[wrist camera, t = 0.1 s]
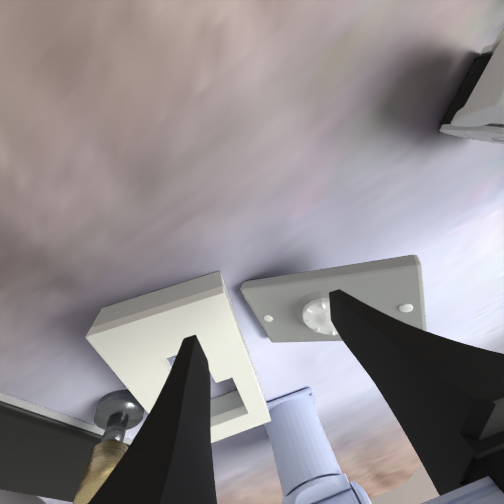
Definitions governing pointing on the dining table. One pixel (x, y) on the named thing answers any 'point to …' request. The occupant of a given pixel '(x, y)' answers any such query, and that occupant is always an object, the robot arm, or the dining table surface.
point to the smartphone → (43, 449)
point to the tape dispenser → (480, 99)
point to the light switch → (330, 279)
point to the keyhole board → (168, 344)
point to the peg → (109, 440)
